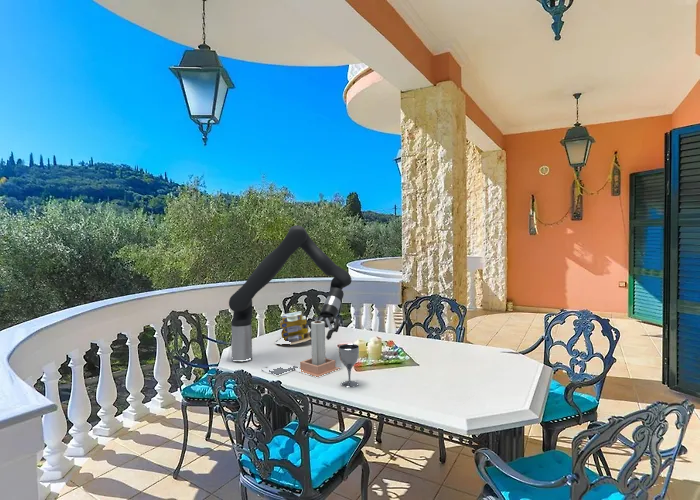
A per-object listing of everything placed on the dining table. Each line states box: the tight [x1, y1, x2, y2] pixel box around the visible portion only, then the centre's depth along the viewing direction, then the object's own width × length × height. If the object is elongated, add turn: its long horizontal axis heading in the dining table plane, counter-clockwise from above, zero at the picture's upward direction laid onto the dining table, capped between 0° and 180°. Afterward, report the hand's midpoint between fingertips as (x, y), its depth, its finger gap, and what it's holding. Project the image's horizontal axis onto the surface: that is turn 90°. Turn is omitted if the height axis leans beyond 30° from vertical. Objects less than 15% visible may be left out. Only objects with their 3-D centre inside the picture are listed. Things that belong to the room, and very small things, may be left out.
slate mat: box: [269, 365, 299, 375], centre depth 176 cm, size 12×12×1 cm
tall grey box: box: [310, 321, 327, 366], centre depth 174 cm, size 7×6×21 cm
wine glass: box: [338, 343, 360, 388], centre depth 156 cm, size 8×8×15 cm
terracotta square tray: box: [299, 357, 341, 378], centre depth 174 cm, size 14×14×4 cm
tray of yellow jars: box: [279, 310, 311, 345], centre depth 224 cm, size 25×25×17 cm
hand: (319, 338), depth 175 cm, fingers open, 8 cm apart
